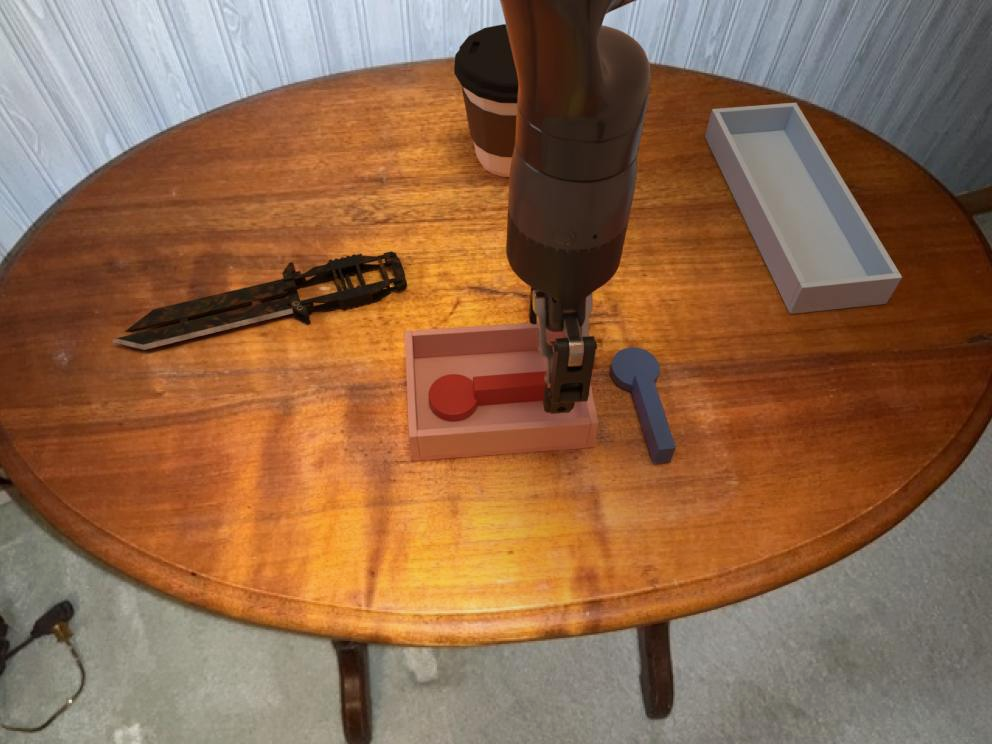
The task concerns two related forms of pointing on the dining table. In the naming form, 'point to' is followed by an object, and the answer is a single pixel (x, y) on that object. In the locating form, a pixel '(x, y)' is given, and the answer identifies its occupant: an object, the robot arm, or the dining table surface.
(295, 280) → the knife
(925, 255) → the dining table surface
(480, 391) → the red spoon
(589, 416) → the rose bin
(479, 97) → the coffee cup
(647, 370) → the blue spoon
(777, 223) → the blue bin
